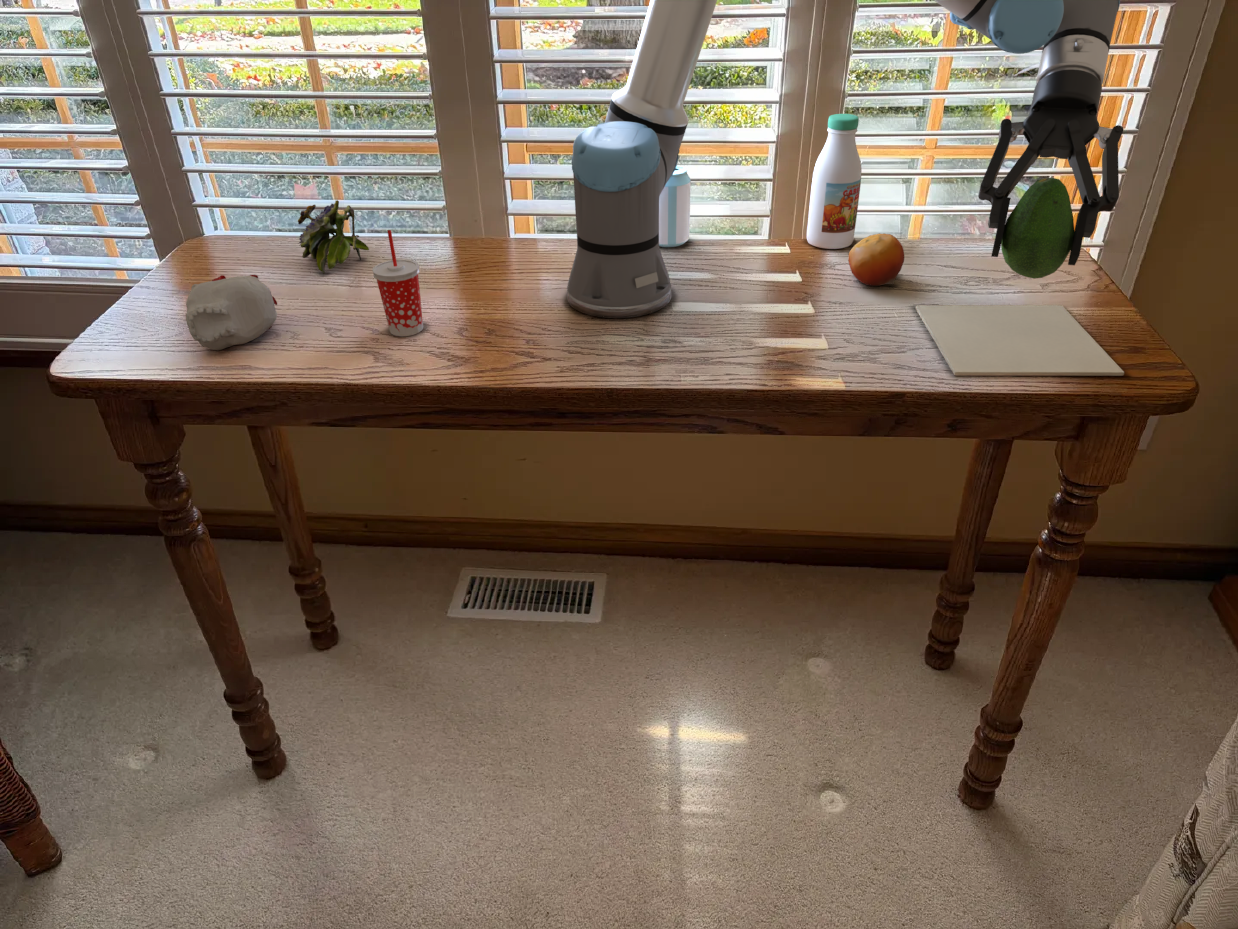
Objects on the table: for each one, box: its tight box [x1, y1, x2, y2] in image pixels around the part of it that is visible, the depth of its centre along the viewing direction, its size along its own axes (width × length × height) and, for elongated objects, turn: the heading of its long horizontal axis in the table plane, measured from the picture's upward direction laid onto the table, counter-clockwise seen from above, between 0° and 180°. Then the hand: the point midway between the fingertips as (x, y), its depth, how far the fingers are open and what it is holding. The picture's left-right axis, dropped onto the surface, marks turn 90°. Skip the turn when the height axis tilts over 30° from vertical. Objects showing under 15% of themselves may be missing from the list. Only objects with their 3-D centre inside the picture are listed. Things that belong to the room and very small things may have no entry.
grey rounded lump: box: [185, 274, 278, 351], centre depth 117 cm, size 9×11×15 cm
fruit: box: [847, 233, 905, 287], centre depth 129 cm, size 8×8×8 cm
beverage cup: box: [371, 229, 424, 337], centre depth 116 cm, size 6×6×14 cm
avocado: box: [1000, 177, 1075, 280], centre depth 105 cm, size 8×8×12 cm
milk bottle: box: [806, 113, 862, 250], centre depth 139 cm, size 8×8×20 cm
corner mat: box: [915, 304, 1125, 377], centre depth 113 cm, size 20×20×1 cm
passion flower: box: [297, 199, 370, 275], centre depth 140 cm, size 11×11×12 cm
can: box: [659, 165, 692, 248], centre depth 143 cm, size 7×7×12 cm
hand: (1034, 255), depth 103 cm, fingers closed on avocado, 8 cm apart
